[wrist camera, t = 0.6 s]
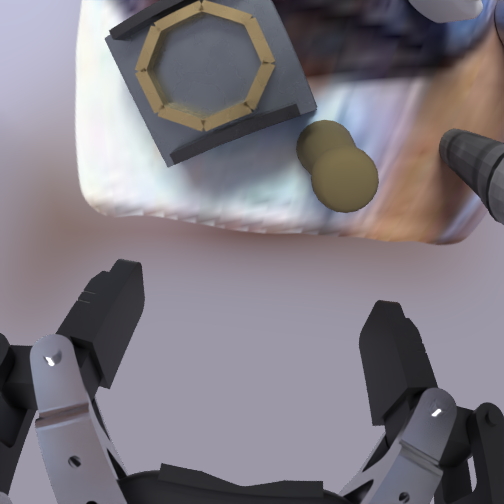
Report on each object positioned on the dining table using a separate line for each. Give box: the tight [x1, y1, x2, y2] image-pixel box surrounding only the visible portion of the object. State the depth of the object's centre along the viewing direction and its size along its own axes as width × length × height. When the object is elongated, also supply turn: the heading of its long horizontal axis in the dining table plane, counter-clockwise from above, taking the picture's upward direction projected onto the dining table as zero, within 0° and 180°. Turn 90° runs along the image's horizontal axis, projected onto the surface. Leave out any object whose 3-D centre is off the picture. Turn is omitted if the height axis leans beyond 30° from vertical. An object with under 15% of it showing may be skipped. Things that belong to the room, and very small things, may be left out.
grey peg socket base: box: [105, 0, 317, 167], centre depth 24 cm, size 15×15×7 cm
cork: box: [296, 120, 379, 213], centre depth 26 cm, size 6×6×11 cm
